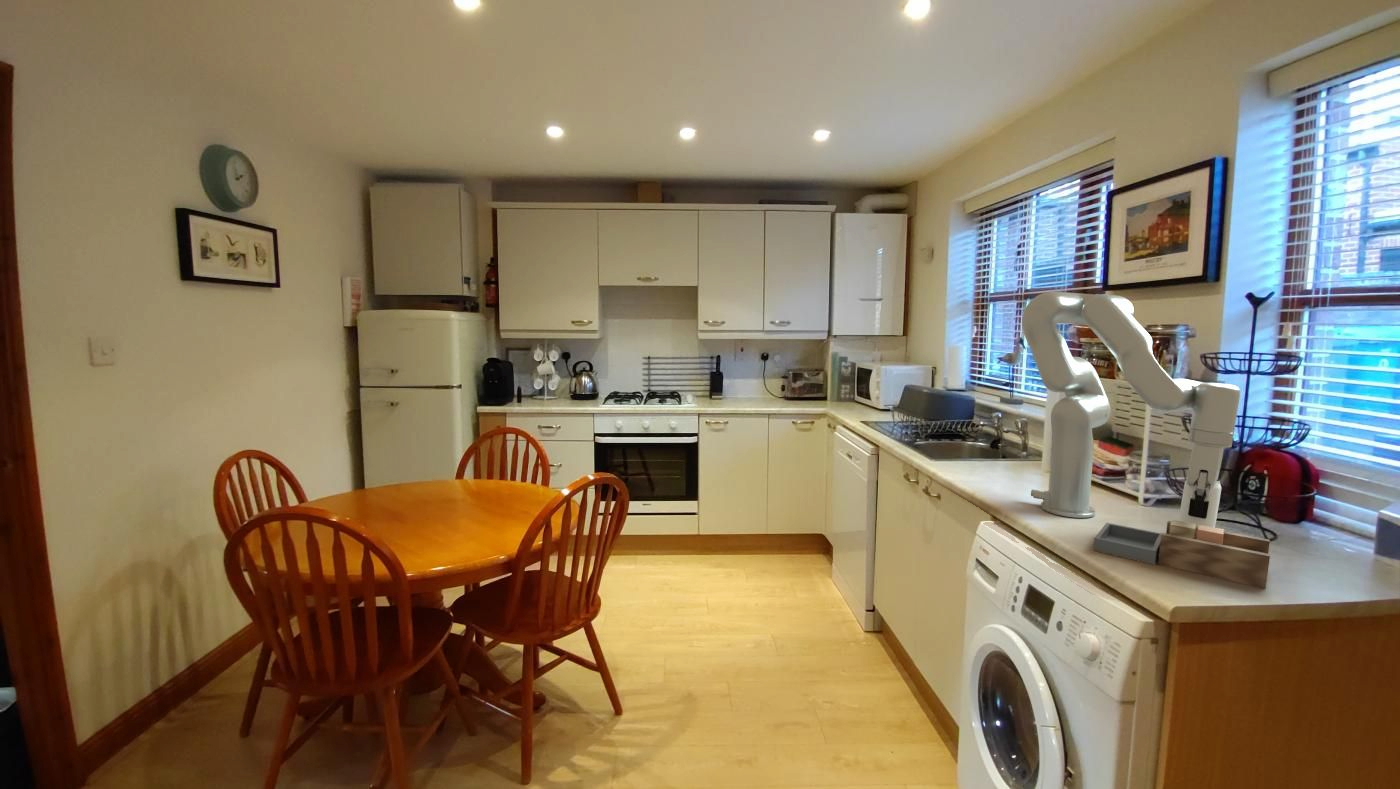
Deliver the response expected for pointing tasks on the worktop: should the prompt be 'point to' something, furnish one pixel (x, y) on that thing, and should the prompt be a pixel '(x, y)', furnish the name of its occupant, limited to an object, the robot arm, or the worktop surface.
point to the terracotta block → (1210, 534)
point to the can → (1212, 507)
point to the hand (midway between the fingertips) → (1198, 512)
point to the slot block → (1218, 556)
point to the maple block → (1182, 529)
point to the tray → (1128, 542)
